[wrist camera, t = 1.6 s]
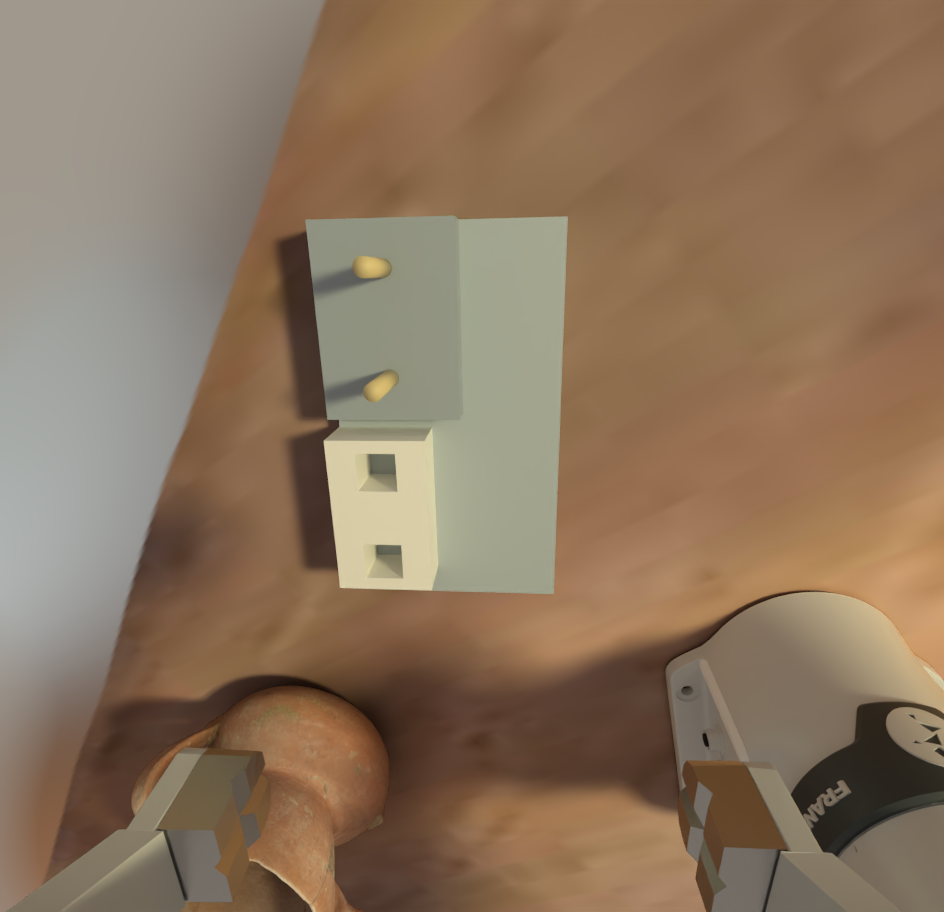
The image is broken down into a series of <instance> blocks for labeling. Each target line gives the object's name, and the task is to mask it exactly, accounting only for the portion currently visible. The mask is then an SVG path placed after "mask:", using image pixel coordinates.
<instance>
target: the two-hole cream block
mask: <svg viewBox="0 0 944 912" xmlns="http://www.w3.org/2000/svg"><path fill="white" fill-rule="evenodd" d="M324 449H325V458H326V467H327V475H328V484H329V493H330V502H331V510H332V519H333V528H334V537H335V545H336V554H337V563H338V572H339V581H340V588H365V589H402V590H432V588H433V584H434V580H435V576H436V573H437V569H438V549H437V526H436V504H435V481H434V458H433V435H432V427H339V428H338V429H336V430H335V431H334V432H333V433H332V434H331V435H330V436H328V437H327V438H326V439H325V440H324ZM369 454H395V464H396V474H371V468H370V456H369ZM377 545H401V551H402V555H380V554H378V550H377Z"/></svg>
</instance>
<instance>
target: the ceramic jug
mask: <svg viewBox="0 0 944 912" xmlns="http://www.w3.org/2000/svg"><path fill="white" fill-rule="evenodd" d="M205 746H208V748H213V749H232V750H250V751H261V752H263V756H264V760H265V766H264V769H263V771H262V773H261V774H262V775H263V776H264V777H265V778H266V779H267V780H268V781H269V783H270V789H271V804H270V809H269V813H268V818H267V822H266V824H265V827H264V829H263V832H262V834H261V837H260V838H259V839H258V840H257V841H256V842H254V843H253V844H252V845H251V846H250V847H249V848H248V849H247V852H248V856H249V861H250V863H249V865H248V868H247V870H246V873H245V875H244V877H243V880H242V882H241V884H240V887H239V889H238V891H237V894H236V896H235V899H234V901H233V902H185V903H186V906H185V907H184V908H183V909H182V910H181V911H180V912H365V911H363V910H360V909H355V908H353V907H352V906H351V905H350V904H349V903H348V902H347V900H346V899H345V897H344V895H343V893H342V891H341V889H340V887H339V885H338V884H337V883H336V882H335V880H334V877H335V870H334V865H335V860H334V847H336V846H339V845H341V844H344V843H346V842H348V841H350V840H352V839H353V838H355V837H356V836H358V835H360V834H361V833H362V832H363V831H365V830H371V829H373V828H374V827H376V826H378V825H380V824H381V823H383V821H384V804H385V801H386V798H387V795H388V791H389V785H390V765H389V758H388V754H387V750H386V747H385V744H384V742H383V740H382V738H381V736H380V734H379V732H378V731H377V729H376V728H375V726H374V725H373V724H372V722H371V721H370V720H369V719H368V718H367V717H366V716H365V715H364V714H363V713H362V712H361V711H360V710H359V709H357V708H356V707H355V706H353V705H352V704H350V703H349V702H347V701H345V700H344V699H342V698H340V697H338V696H336V695H333V694H331V693H328V692H325V691H322V690H319V689H315V688H310V687H303V686H277V687H271V688H267V689H263V690H260V691H257V692H255V693H253V694H251V695H249V696H247V697H245V698H243V699H242V700H240V701H239V702H237V703H236V704H235V705H234V706H232V707H231V708H230V709H229V710H228V711H227V712H226V713H224V714H222V715H221V716H219V717H217V718H216V719H214V720H213V721H211V722H210V723H209V724H208V725H207V726H206V727H205V728H204V729H203V730H201V731H199V732H197V733H194V734H192V735H190V736H188V737H186V738H184V739H182V740H180V741H178V742H176V743H174V744H173V745H171V746H169V747H168V748H166V749H165V750H163V751H162V752H161V753H159V754H158V755H157V756H156V757H155V758H154V759H153V760H152V761H151V762H150V763H149V764H148V765H147V766H146V767H145V769H144V770H143V771H142V773H141V774H140V776H139V778H138V779H137V781H136V783H135V786H134V789H133V792H132V798H131V805H132V810H133V813H134V815H136V814H137V812H138V811H139V809H140V808H141V806H142V805H143V803H144V802H145V800H146V799H147V797H148V796H149V794H150V793H151V791H152V790H153V788H154V787H155V785H156V784H157V782H158V781H159V779H160V778H161V776H162V775H163V773H164V772H165V770H166V769H167V767H168V766H169V764H170V763H171V761H172V760H173V758H174V757H175V755H176V754H177V753H179V752H180V751H181V750H182V749H184V748H185V747H186V748H203V747H205Z"/></svg>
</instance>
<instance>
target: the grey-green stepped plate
mask: <svg viewBox="0 0 944 912" xmlns="http://www.w3.org/2000/svg"><path fill="white" fill-rule="evenodd" d="M567 219H568V217H532V218H496V219H458V218H457V217H456V216H426V217H390V218H354V219H319V220H305V221H306V230H307V239H308V248H309V257H310V266H311V275H312V284H313V293H314V302H315V311H316V321H317V330H318V339H319V348H320V357H321V366H322V375H323V384H324V393H325V402H326V411H327V420H339V427H432V435H433V458H434V481H435V504H436V526H437V549H438V569H437V573H436V576H435V580H434V584H433V588H432V590H427V591H463V592H500V593H537V594H554V569H555V542H556V515H557V488H558V461H559V434H560V407H561V380H562V353H563V326H564V299H565V272H566V245H567ZM369 456H370V468H371V474H396V464H395V454H369ZM377 550H378V554H380V555H402V551H401V545H377ZM356 589H365V588H356ZM390 590H402V589H390Z"/></svg>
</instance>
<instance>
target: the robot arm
mask: <svg viewBox="0 0 944 912" xmlns="http://www.w3.org/2000/svg"><path fill="white" fill-rule="evenodd" d="M665 674H666V682H667V691H668V699H669V707H670V715H671V723H672V731H673V739H674V748H675V756H676V764H677V772H678V780H679V788H680V792H679V799H678V815H679V824H680V829H681V834H682V838H683V841H684V844H685V847H686V851H687V852H688V853H689V854H690V855H691V856H692V857H693V858H694V859H695V860H696V861H697V862H698V865H697V872H696V878H695V879H696V882H697V885H698V888H699V891H700V894H701V897H702V900H703V903H704V906H705V909H706V912H944V681H943V679H942V678H941V677H940V676H939V675H938V673H937V672H936V671H935V670H934V669H933V668H932V667H931V666H930V665H929V664H927V663H926V662H924V661H923V660H921V659H920V658H918V657H917V656H915V655H914V654H913V653H912V652H911V650H910V649H909V647H908V646H907V644H906V643H905V641H904V640H903V638H902V637H901V635H900V633H899V632H898V630H897V629H896V627H895V626H894V625H893V623H892V622H891V621H890V620H889V619H888V618H887V617H886V616H885V615H884V614H883V613H881V612H880V611H879V610H877V609H876V608H874V607H873V606H871V605H869V604H867V603H865V602H863V601H860V600H858V599H855V598H852V597H849V596H845V595H841V594H835V593H827V592H802V593H794V594H788V595H784V596H779V597H776V598H772V599H769V600H767V601H764V602H761V603H759V604H757V605H754V606H752V607H750V608H748V609H746V610H745V611H743V612H741V613H740V614H738V615H737V616H735V617H734V618H733V619H731V620H730V621H729V622H727V623H726V624H725V625H724V626H723V627H722V628H721V629H720V630H719V631H718V632H717V633H716V634H715V635H714V636H713V637H712V638H711V639H709V640H708V641H707V642H706V643H705V644H703V645H702V646H700V647H698V648H696V649H693V650H691V651H689V652H687V653H684V654H683V655H681V656H679V657H677V658H675V659H674V660H672V661H671V662H670V663H669V664H668V665H667V667H666V673H665ZM685 686H689V687H687V688H683V687H685ZM264 766H265V760H264V756H263V752H261V751H250V750H232V749H213V748H186V747H185V748H184V749H182V750H181V751H180V752H179V753H177V754H176V755H175V757H174V758H173V760H172V761H171V763H170V764H169V766H168V767H167V769H166V770H165V772H164V773H163V775H162V776H161V778H160V779H159V781H158V782H157V784H156V785H155V787H154V788H153V790H152V791H151V793H150V794H149V796H148V797H147V799H146V800H145V802H144V803H143V805H142V806H141V808H140V809H139V811H138V812H137V814H136V815H135V817H134V818H133V820H132V821H131V823H130V824H129V826H128V827H127V829H118V830H117V831H116V832H114V833H113V834H111V835H110V836H109V837H107V838H106V839H105V840H103V841H102V842H101V843H99V844H98V845H96V846H95V847H94V848H92V849H91V850H90V851H88V852H87V853H86V854H84V855H83V856H81V857H80V858H79V859H77V860H76V861H75V862H73V863H72V864H71V865H69V866H68V867H66V868H65V869H64V870H62V871H61V872H60V873H58V874H57V875H56V876H54V877H53V878H51V879H50V880H49V881H47V882H46V883H45V884H43V885H42V886H41V887H39V888H38V889H36V890H35V891H34V892H32V893H31V894H30V895H28V896H27V897H26V898H24V899H23V900H22V901H20V902H19V903H17V904H16V905H15V906H13V907H12V908H10V909H9V910H8V911H6V912H180V911H181V910H182V909H183V908H184V907H185V906H186V903H185V902H233V901H234V899H235V896H236V894H237V891H238V889H239V887H240V884H241V882H242V880H243V877H244V875H245V873H246V870H247V868H248V865H249V863H250V861H249V856H248V852H247V849H248V848H249V847H250V846H251V845H252V844H253V843H254V842H256V841H257V840H258V839H259V838H260V837H261V834H262V832H263V829H264V827H265V824H266V822H267V818H268V813H269V809H270V804H271V789H270V783H269V781H268V780H267V779H266V778H265V777H264V776H263V775H262V774H261V773H262V771H263V769H264Z"/></svg>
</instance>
